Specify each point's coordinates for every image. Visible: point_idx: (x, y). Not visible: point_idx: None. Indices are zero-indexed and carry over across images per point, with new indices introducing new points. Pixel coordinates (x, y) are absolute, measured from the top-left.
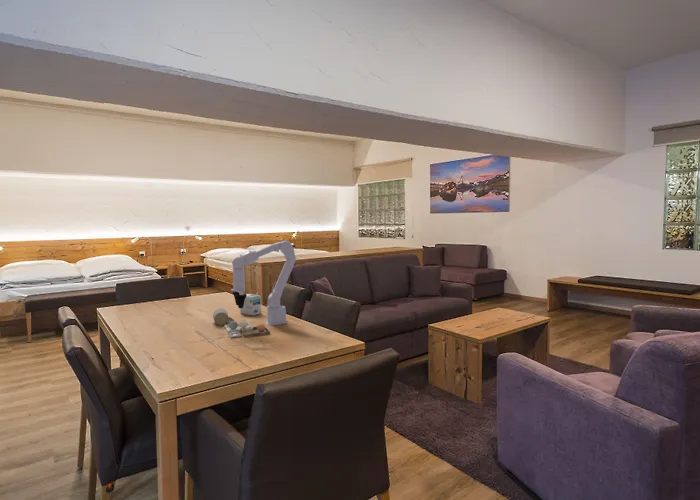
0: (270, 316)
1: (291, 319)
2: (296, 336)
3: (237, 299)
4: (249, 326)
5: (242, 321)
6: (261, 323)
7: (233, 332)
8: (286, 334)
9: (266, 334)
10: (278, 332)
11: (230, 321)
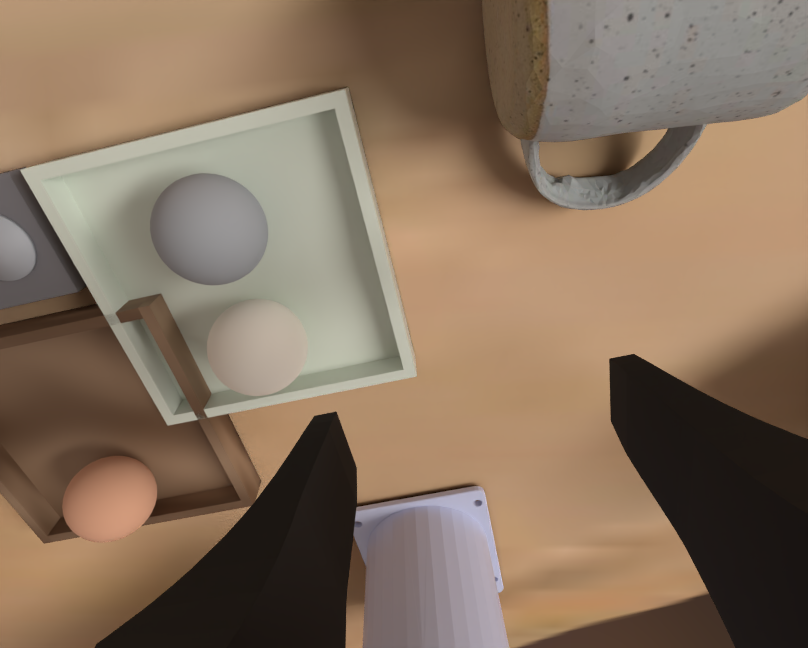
0: (374, 591)
1: (518, 625)
2: (50, 639)
3: (191, 574)
4: (314, 375)
5: (219, 358)
6: (93, 535)
7: (9, 237)
8: (94, 598)
9: (38, 504)
10: (147, 560)
11: (526, 161)
